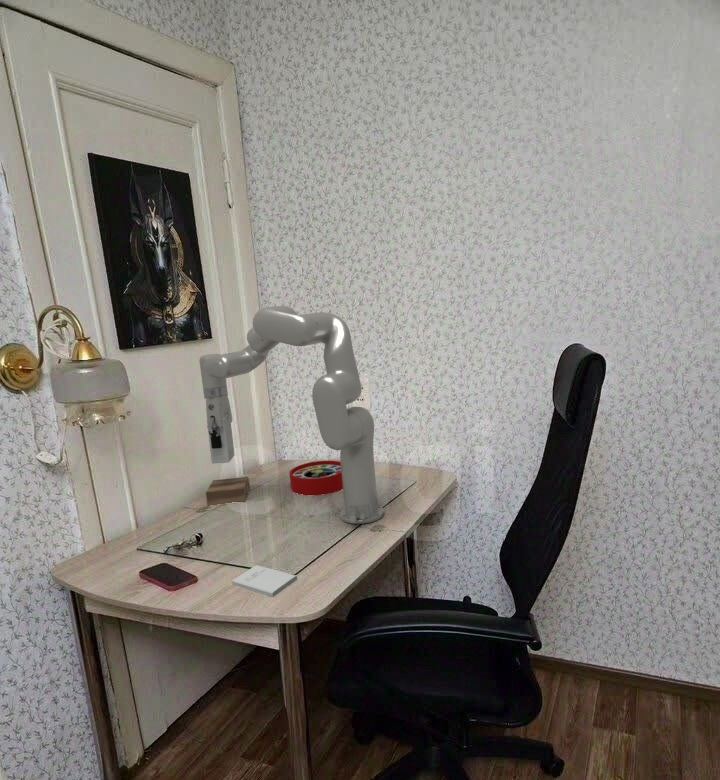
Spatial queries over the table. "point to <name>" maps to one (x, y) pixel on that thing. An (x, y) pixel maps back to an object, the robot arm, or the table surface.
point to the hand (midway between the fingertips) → (222, 444)
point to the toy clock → (316, 478)
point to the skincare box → (223, 444)
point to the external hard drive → (264, 580)
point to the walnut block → (227, 491)
